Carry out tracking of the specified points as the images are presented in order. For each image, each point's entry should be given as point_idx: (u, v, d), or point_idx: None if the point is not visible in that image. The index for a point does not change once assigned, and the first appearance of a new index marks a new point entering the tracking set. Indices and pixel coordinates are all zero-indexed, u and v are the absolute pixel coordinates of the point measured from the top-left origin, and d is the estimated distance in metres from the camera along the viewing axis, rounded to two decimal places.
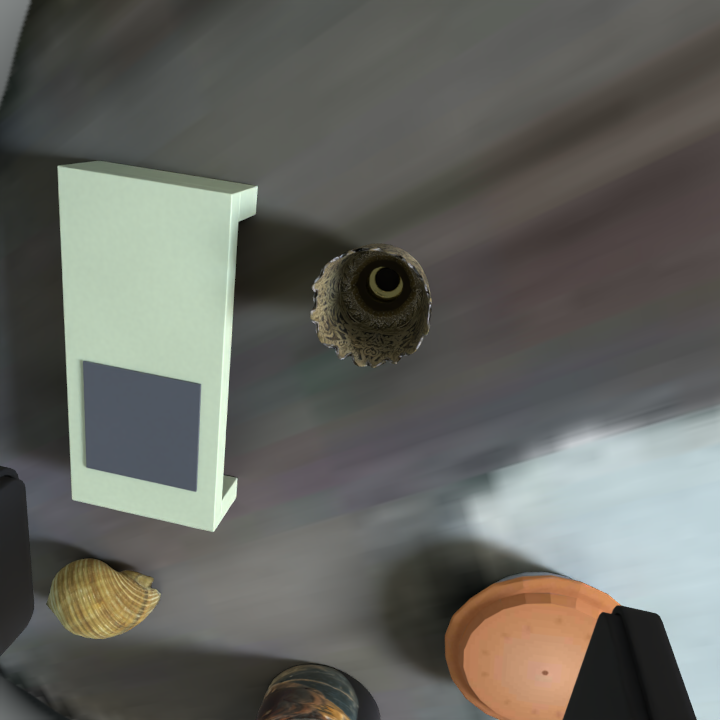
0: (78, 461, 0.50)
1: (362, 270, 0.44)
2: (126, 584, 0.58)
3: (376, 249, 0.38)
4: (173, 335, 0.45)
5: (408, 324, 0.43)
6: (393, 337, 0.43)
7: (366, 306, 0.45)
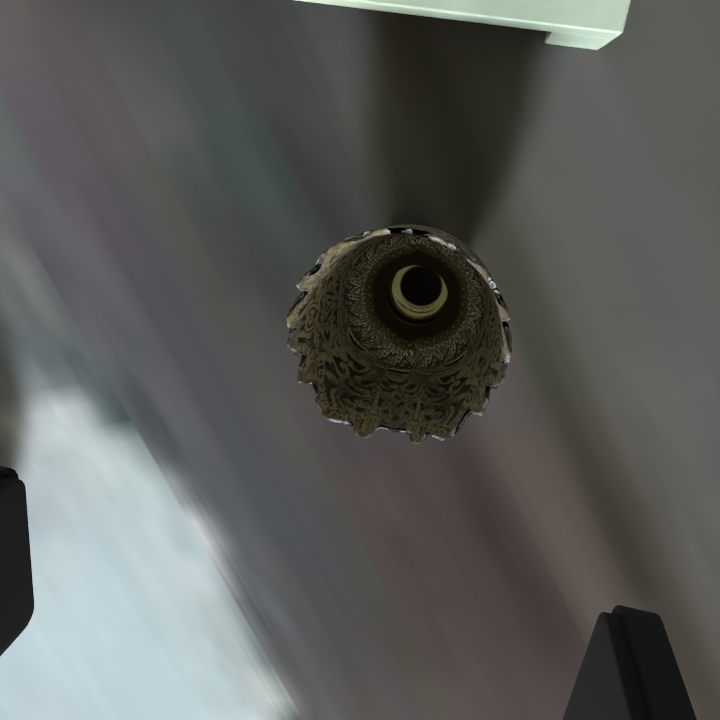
0: None
1: (441, 262, 0.26)
2: None
3: (507, 358, 0.21)
4: None
5: (356, 348, 0.26)
6: (334, 332, 0.25)
7: (380, 267, 0.26)
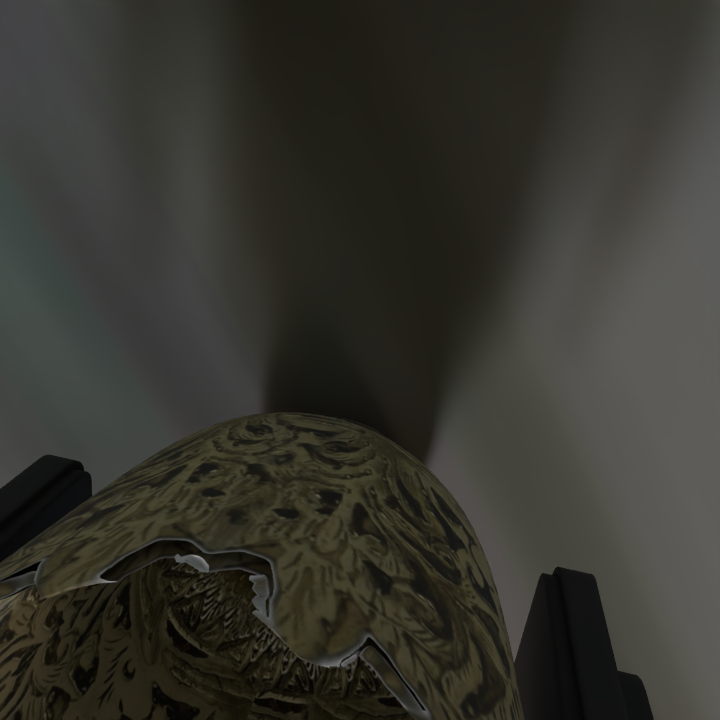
0: None
1: None
2: None
3: None
4: None
5: (183, 659, 0.12)
6: (118, 648, 0.11)
7: None
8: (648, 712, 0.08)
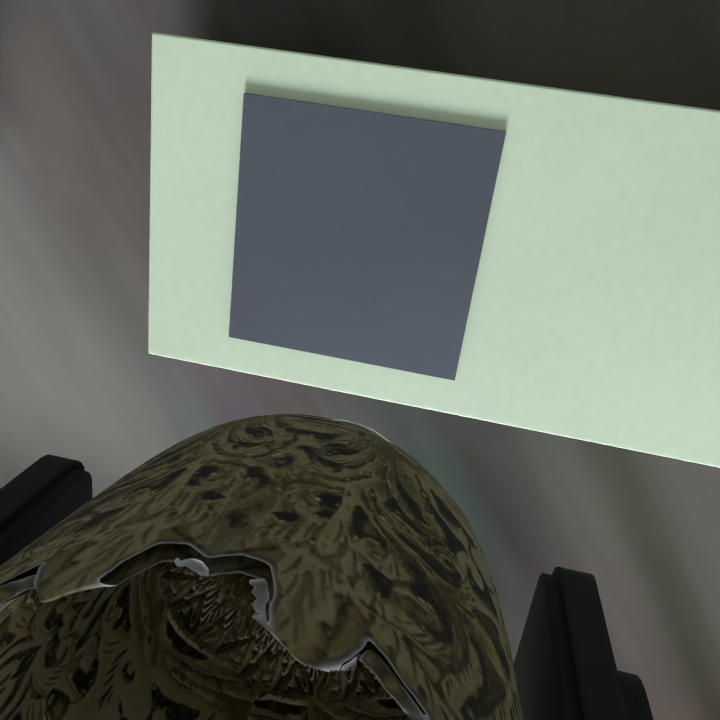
0: (254, 70, 0.22)
1: None
2: None
3: None
4: (555, 341, 0.23)
5: (182, 660, 0.12)
6: (117, 650, 0.11)
7: None
8: (647, 712, 0.08)
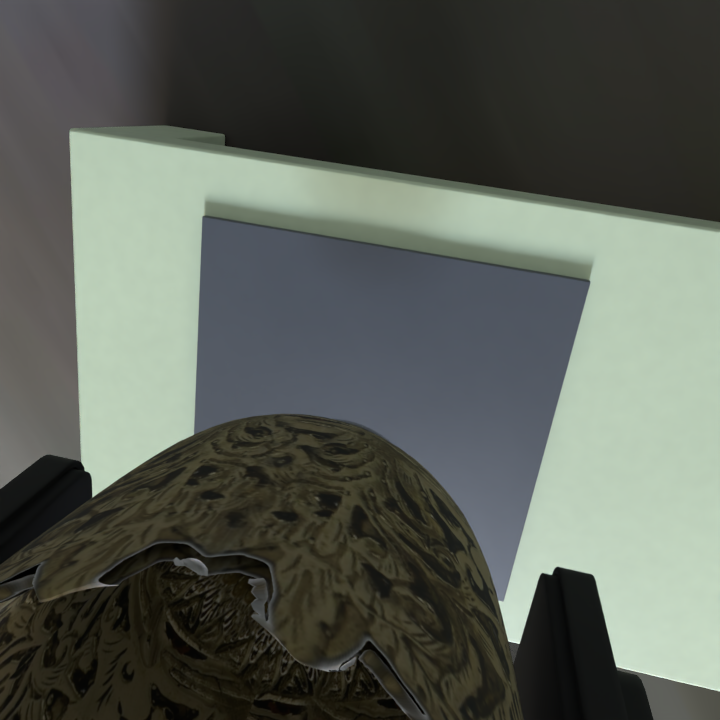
0: (217, 184, 0.15)
1: None
2: None
3: None
4: (649, 559, 0.16)
5: (182, 660, 0.12)
6: (117, 650, 0.11)
7: None
8: (647, 712, 0.08)
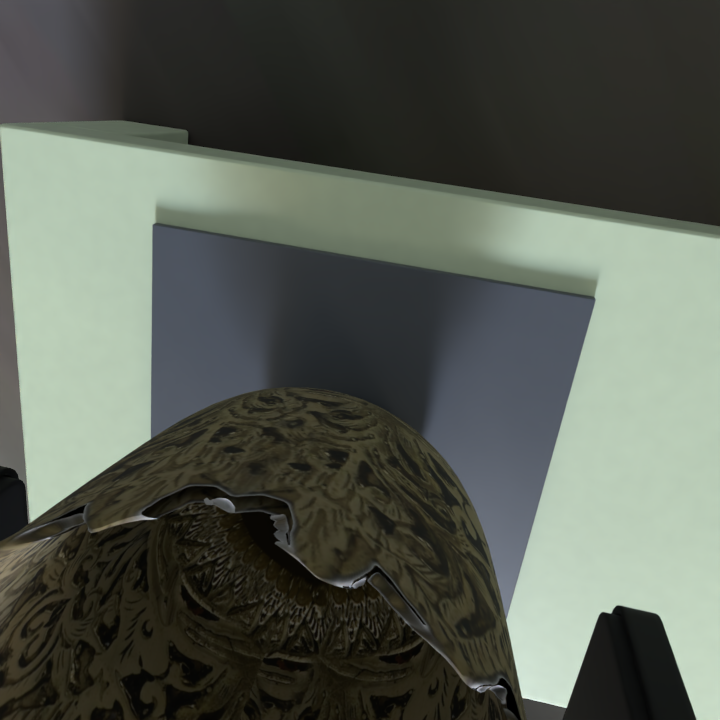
0: (169, 187, 0.13)
1: None
2: None
3: None
4: (660, 606, 0.15)
5: (196, 621, 0.12)
6: (137, 608, 0.12)
7: None
8: None
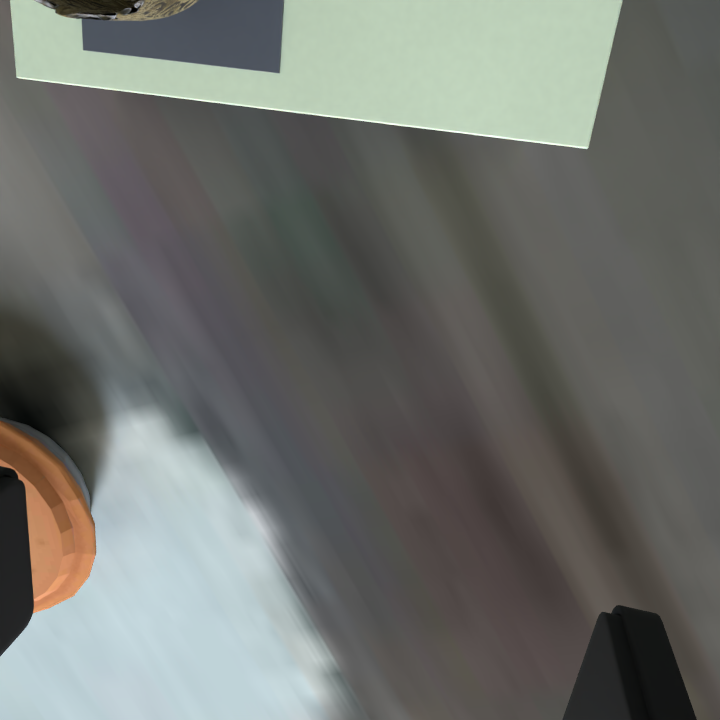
0: None
1: None
2: None
3: None
4: (359, 25, 0.27)
5: None
6: None
7: None
8: None
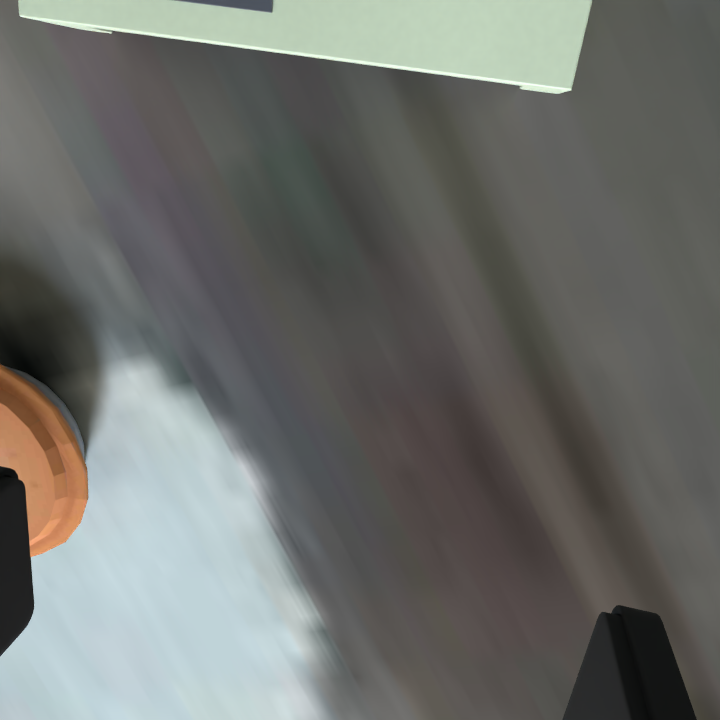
0: None
1: None
2: None
3: None
4: None
5: None
6: None
7: None
8: None
